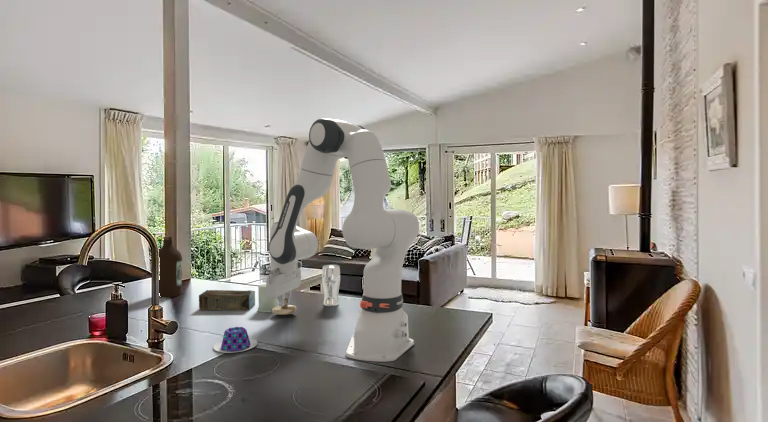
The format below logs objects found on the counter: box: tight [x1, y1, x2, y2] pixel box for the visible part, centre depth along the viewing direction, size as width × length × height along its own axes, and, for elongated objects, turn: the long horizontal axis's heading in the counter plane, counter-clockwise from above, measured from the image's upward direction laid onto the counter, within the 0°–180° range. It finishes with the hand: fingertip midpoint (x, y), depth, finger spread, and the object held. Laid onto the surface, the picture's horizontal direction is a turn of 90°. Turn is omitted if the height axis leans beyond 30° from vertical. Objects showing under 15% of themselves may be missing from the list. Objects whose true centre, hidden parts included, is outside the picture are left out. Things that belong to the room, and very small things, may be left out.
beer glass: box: [321, 264, 341, 307], centre depth 173 cm, size 7×7×15 cm
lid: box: [271, 298, 297, 316], centre depth 158 cm, size 8×8×4 cm
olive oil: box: [158, 235, 183, 298], centre depth 188 cm, size 11×11×25 cm
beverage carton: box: [198, 289, 256, 311], centre depth 168 cm, size 8×19×7 cm, turn 91°
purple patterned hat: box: [213, 326, 258, 354], centre depth 127 cm, size 12×12×5 cm
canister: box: [257, 283, 279, 313], centre depth 165 cm, size 8×8×9 cm
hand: (284, 304), depth 158 cm, fingers closed on lid, 2 cm apart
